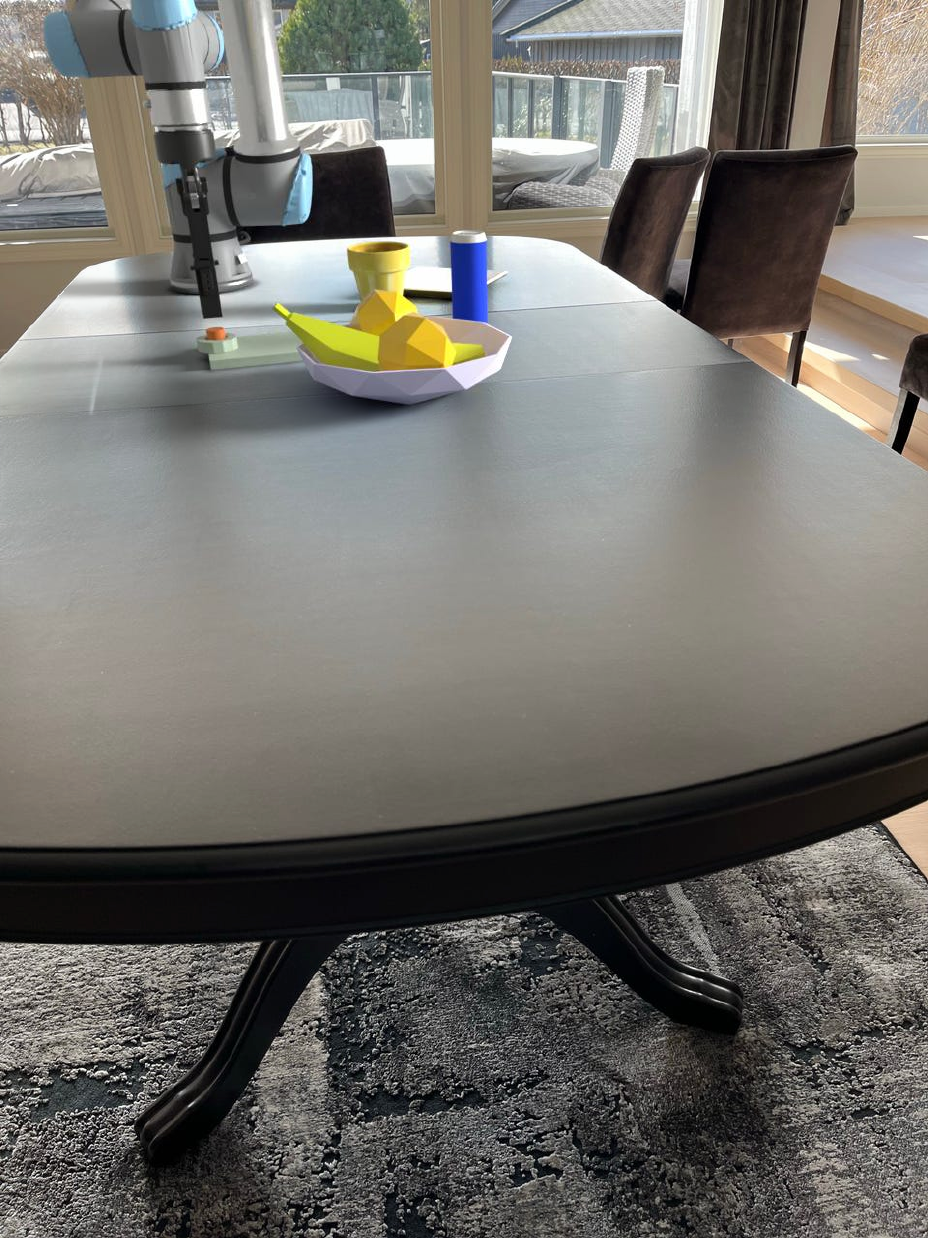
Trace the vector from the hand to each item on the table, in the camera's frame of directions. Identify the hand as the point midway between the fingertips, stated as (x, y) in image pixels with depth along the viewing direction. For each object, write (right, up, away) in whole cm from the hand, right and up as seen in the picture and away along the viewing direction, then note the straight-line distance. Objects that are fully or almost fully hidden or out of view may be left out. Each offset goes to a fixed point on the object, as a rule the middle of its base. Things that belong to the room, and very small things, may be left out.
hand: (212, 316), depth 133 cm
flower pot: (+21, +11, +28) cm, 37 cm away
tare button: (0, -3, +2) cm, 3 cm away
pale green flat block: (+6, -4, +5) cm, 9 cm away
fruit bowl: (+27, -13, -11) cm, 32 cm away
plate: (+32, +17, +39) cm, 53 cm away
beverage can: (+36, -1, +8) cm, 37 cm away
